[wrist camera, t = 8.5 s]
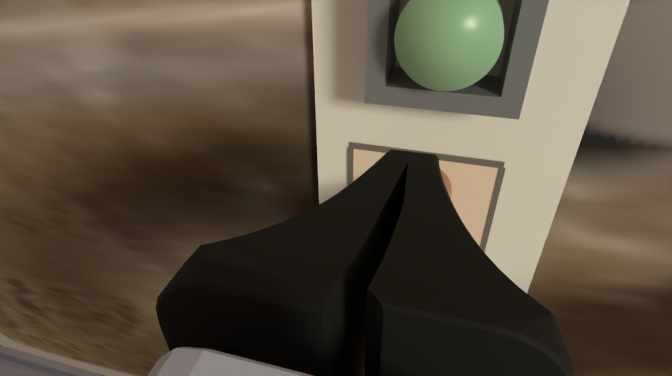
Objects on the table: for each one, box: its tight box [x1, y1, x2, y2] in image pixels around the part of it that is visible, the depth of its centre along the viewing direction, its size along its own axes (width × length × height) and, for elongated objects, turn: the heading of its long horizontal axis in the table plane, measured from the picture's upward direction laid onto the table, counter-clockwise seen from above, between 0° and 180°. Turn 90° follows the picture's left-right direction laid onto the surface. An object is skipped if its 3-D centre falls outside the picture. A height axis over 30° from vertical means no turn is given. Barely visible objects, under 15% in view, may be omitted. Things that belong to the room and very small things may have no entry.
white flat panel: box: [311, 0, 630, 293], centre depth 22 cm, size 12×24×1 cm, turn 0°
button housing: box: [365, 0, 549, 119], centre depth 16 cm, size 6×6×2 cm
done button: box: [394, 0, 504, 91], centre depth 15 cm, size 4×4×2 cm
